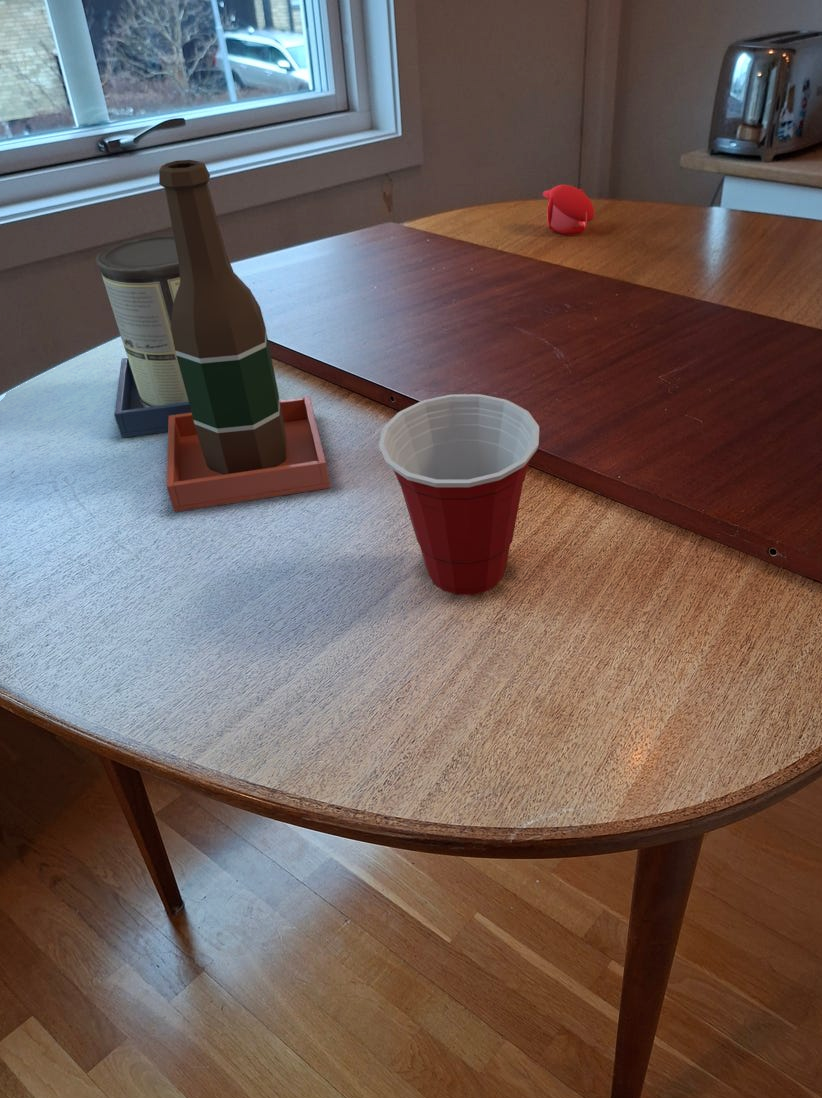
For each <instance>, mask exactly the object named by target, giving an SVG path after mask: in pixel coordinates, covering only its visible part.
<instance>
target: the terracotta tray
mask: <svg viewBox="0 0 822 1098" xmlns="http://www.w3.org/2000/svg"><path fill="white" fill-rule="evenodd" d="M279 400H280V405H281V410H282V415H283V420H284V426H285V434H286V442H287V452H286V460H285V462H283V463H281V464H280V465H278V466H276V467H273V468H266V469H259V470H253V471H246V472H239V473H232V474H226V475H223V474H221V473H218V472H216V471H213V470H211V469H209V467H208V466H207V464H206V461H205V458H204V456H203V453H202V450H201V446H200V442H199V439H198V435H197V431H196V427H195V424H194V420H193V416H192V413H184V414H177V415H170V416H169V422H168V432H167V459H166V460H167V463H166V490H167V494H168V496H169V501H170V504H171V507H172V509H173V512H174V513H177V512H184V511H191V510H197V509H202V508H209V507H215V506H223V505H229V504H236V503H243V502H247V501H254V500H261V499H268V498H273V497H275V498H276V497H280V496H288V495H292V494H293V495H294V494H300V493H306V492H313V491H319V490H326V489H330V488H331V485H330V479H329V478H330V477H329V473H328V466H327V460H326V456H325V452H324V449H323V445H322V440H321V437H320V432H319V429H318V425H317V420H316V416H315V412H314V408H313V404H312V400H311V396H310V395H309V396H302V397H295V398H287V399H279Z"/></svg>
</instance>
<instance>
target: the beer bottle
mask: <svg viewBox="0 0 822 1098" xmlns="http://www.w3.org/2000/svg"><path fill="white" fill-rule="evenodd" d="M158 173H159V174H158V175H159V177H158V181H159V182H158V185H160V186H161V187H162V188H164V190H165V195H166V201H167V207H168V213H169V217H170V218H169V219H170V223H171V229H172V234H174V239H175V245H176V250H177V256H178V261H179V272H180V285H179V287H178V290H177V293H176V296H175V300H174V303H173V308H172V320H171V331H172V337H173V342H174V347H175V352H176V356H177V360H178V363H179V367H180V371H181V375H182V378H183V382H184V386H185V390H186V393H187V397H188V401H189V405H190V409H191V412H192V416H193V420H194V424H195V427H196V431H197V435H198V439H199V442H200V446H201V450H202V453H203V456H204V458H205V461H206V464H207V466H208V467H209V469H211V470H213V471H216V472H218V473H221V474H223V475H226V474H232V473H239V472H246V471H253V470H259V469H266V468H273V467H276V466H278V465H280V464H281V463H283V462H285V460H286V452H287V442H286V434H285V426H284V420H283V415H282V410H281V405H280V400H281V399H280V395H279V394H280V393H279V389H278V384H277V380H276V373H275V369H274V365H273V363H274V362H273V359H272V353H271V348H270V343H269V337H268V333H267V327H266V323H265V321H264V317H263V313H262V309H261V305H260V304H259V302H258V301H257V299H256V297H255V296H254V293H253V292H252V290H251V288H249V286H248V285H247V284H246V283H244V282H243V280H242V278H240V277H239V276H238V275H237V274H236V273H235V272H234V271H235V270H234V268H233V266H232V264H231V262H230V259H229V256H228V254H227V251H226V245H225V243H224V240H223V236H222V232H221V228H220V224H219V221H218V217H217V213H216V209H215V206H214V202H213V199H212V195H211V192H210V187H209V184H208V183H209V181H210V178H211V174H210V172H209V170H208V168H207V166H206V164H205V162H201V161H199V160H193V159H181V160H174V161H170V162H167V163H164V164H162V165H161V166H160V168H159V172H158Z"/></svg>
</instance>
